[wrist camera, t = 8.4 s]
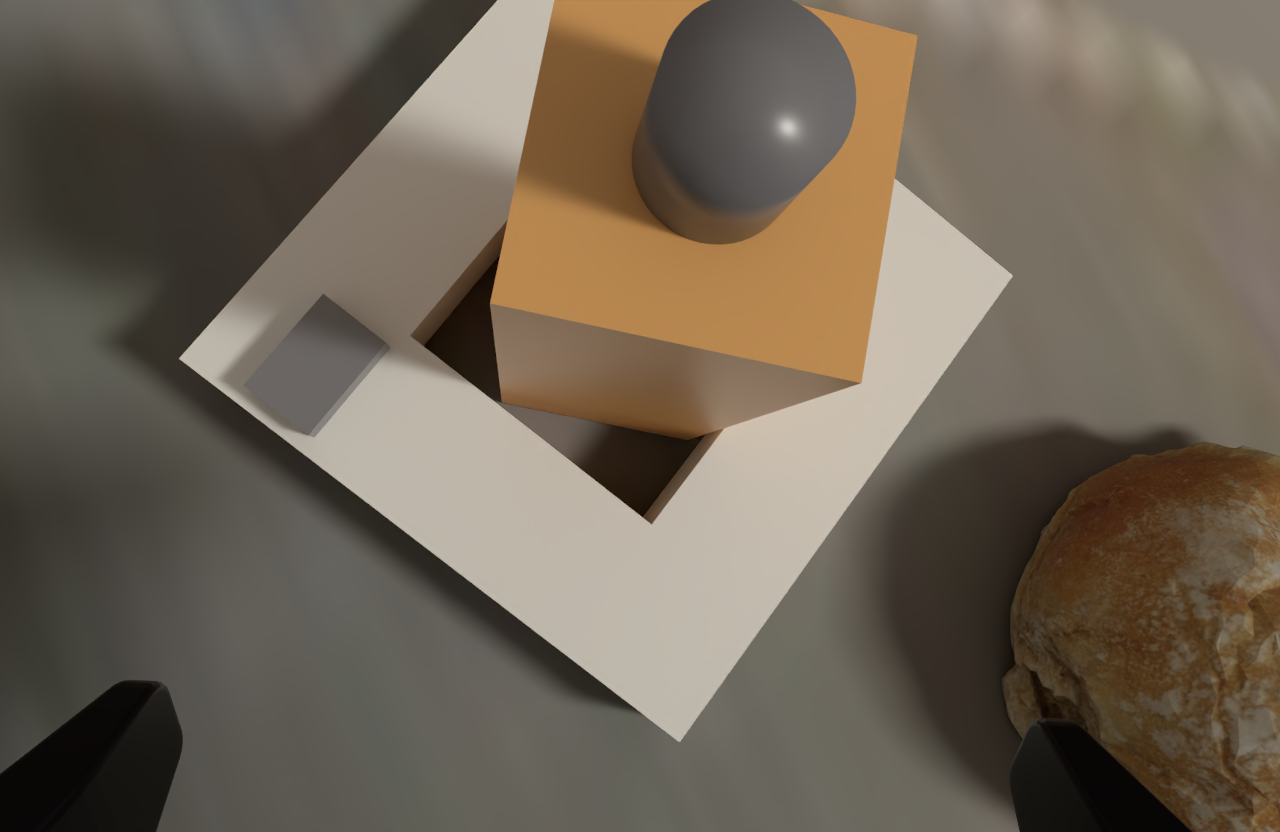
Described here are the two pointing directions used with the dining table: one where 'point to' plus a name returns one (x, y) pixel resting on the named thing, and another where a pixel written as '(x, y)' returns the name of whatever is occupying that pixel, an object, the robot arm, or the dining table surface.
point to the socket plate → (513, 454)
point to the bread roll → (1164, 629)
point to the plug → (698, 211)
